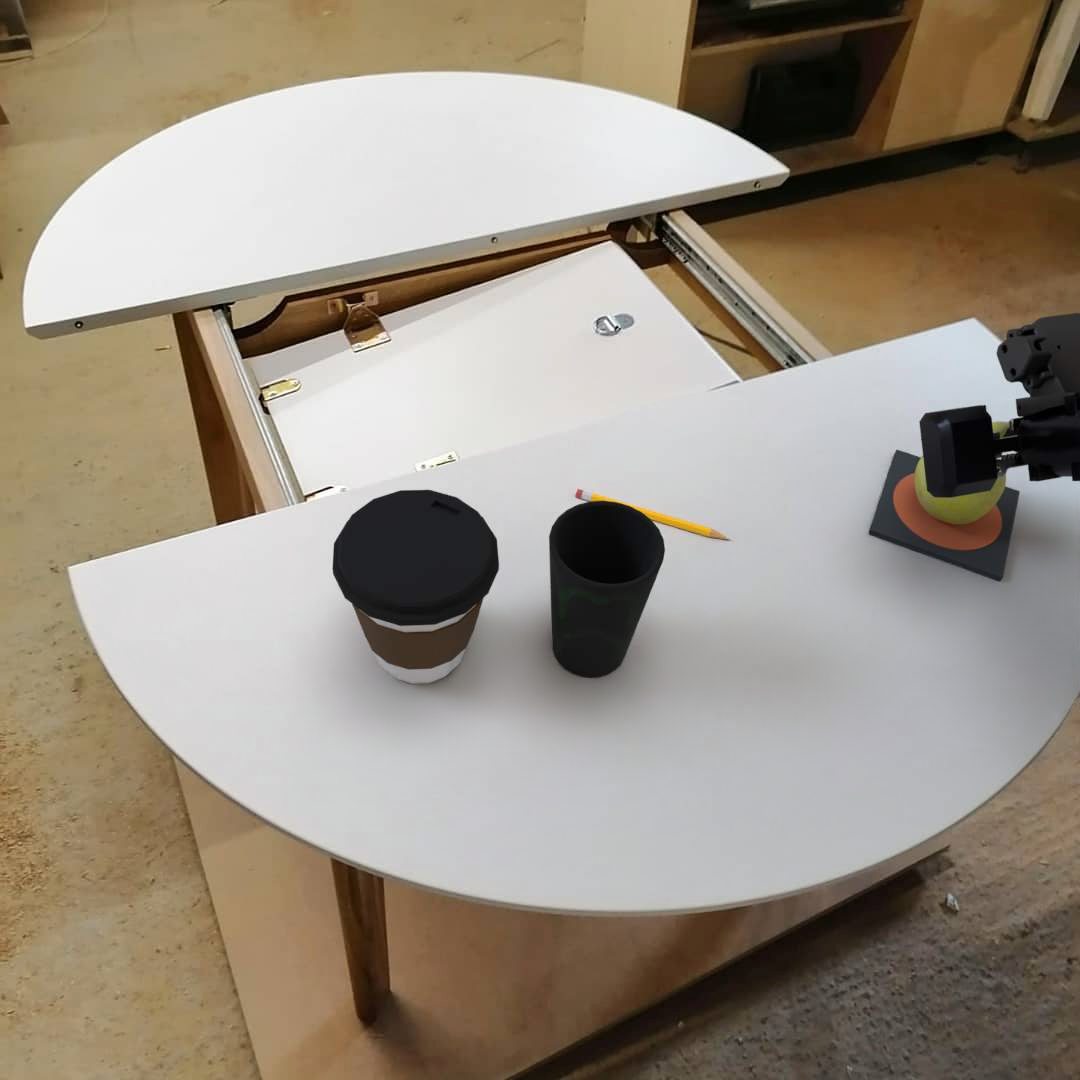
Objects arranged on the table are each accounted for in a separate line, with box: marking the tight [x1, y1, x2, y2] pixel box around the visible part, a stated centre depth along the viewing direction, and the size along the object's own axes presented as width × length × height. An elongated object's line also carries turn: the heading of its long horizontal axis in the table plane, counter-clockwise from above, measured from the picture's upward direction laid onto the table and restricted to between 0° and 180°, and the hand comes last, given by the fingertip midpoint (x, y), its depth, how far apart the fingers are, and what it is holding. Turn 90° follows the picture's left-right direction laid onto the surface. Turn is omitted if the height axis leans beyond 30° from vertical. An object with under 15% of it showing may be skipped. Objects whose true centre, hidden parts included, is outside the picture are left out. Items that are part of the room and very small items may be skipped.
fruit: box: [915, 420, 1010, 524], centre depth 82 cm, size 7×8×12 cm
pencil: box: [575, 488, 730, 540], centre depth 84 cm, size 1×13×1 cm, turn 70°
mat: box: [867, 449, 1021, 582], centre depth 87 cm, size 11×11×1 cm
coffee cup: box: [332, 489, 500, 685], centre depth 70 cm, size 11×11×12 cm
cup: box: [548, 501, 666, 679], centre depth 71 cm, size 8×8×12 cm
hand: (968, 442), depth 82 cm, fingers closed on fruit, 5 cm apart
